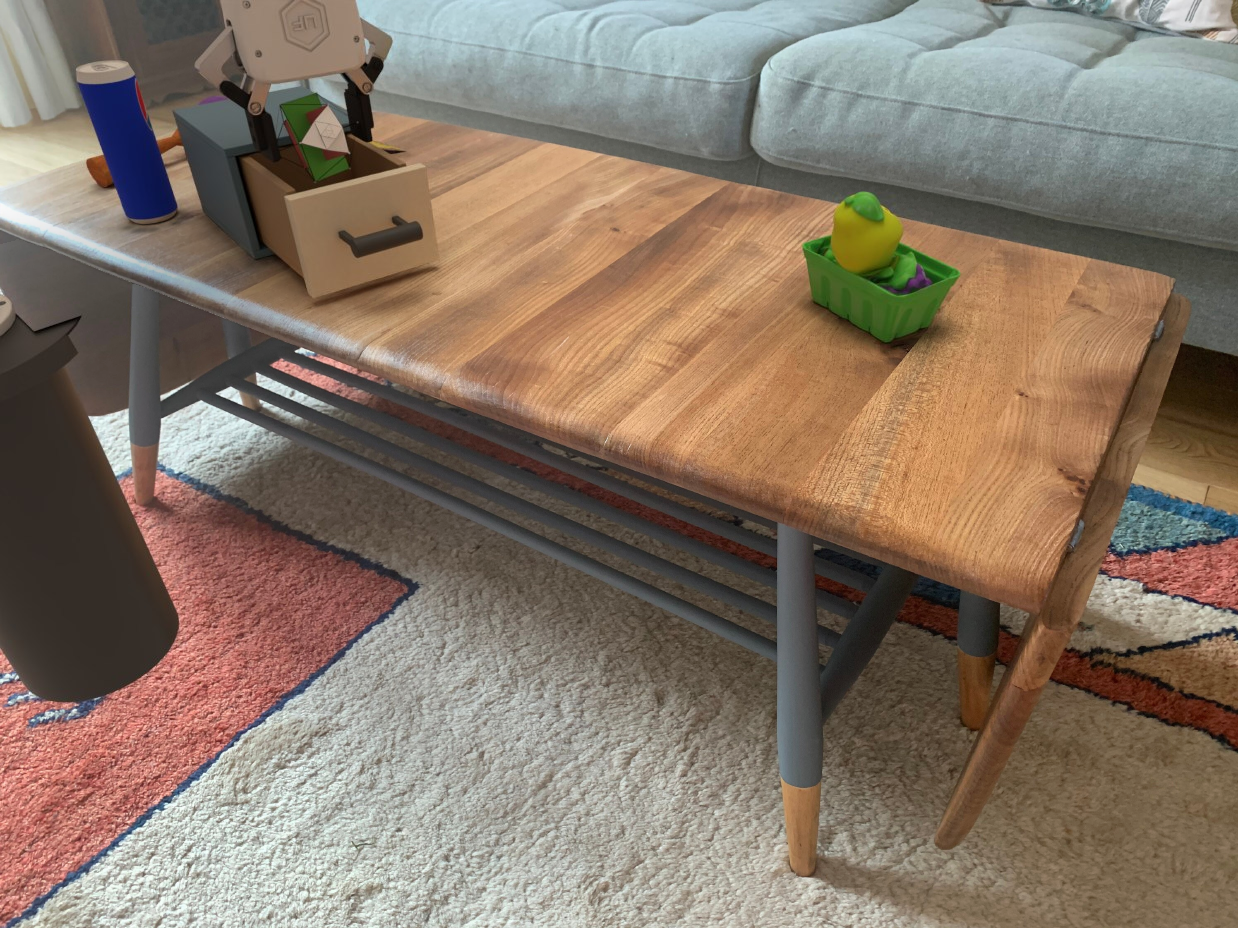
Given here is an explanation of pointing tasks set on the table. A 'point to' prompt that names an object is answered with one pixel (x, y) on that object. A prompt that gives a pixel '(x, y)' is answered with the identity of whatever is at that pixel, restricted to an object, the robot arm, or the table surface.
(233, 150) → the cabinet
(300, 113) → the geometric puzzle
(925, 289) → the fruit basket
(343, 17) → the robot arm
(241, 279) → the table surface
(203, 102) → the kendama
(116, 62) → the beverage can
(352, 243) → the drawer
